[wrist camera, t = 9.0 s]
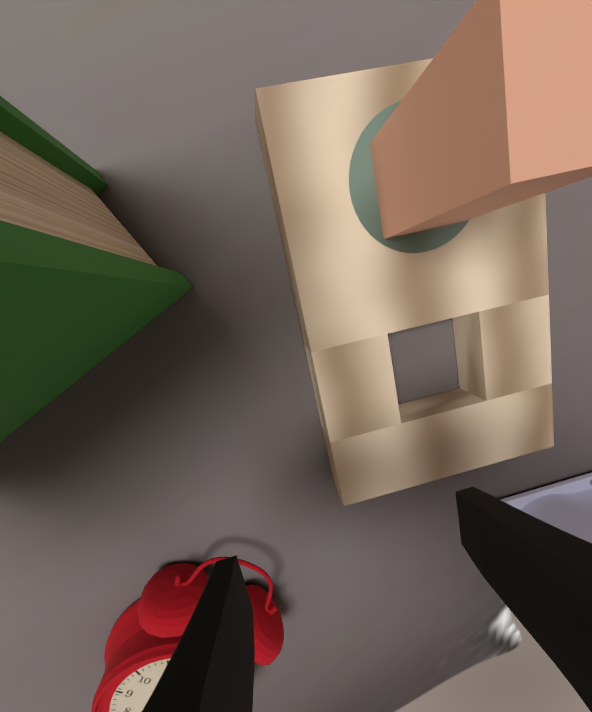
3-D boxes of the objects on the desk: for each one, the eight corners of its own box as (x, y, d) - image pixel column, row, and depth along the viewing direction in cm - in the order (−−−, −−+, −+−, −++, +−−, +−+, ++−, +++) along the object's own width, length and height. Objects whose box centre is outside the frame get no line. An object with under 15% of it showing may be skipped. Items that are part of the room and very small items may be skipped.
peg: (455, 126, 15) (670, -55, 7) (463, 221, 16) (662, 151, 8) (369, 143, 15) (497, -29, 7) (383, 239, 16) (510, 183, 8)
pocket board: (499, 76, 17) (541, 38, 15) (521, 429, 22) (555, 447, 19) (255, 119, 16) (255, 87, 14) (333, 481, 21) (344, 507, 18)
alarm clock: (44, 767, 18) (121, 639, 13) (103, 637, 24) (172, 515, 19) (207, 795, 20) (325, 693, 15) (225, 669, 26) (315, 567, 21)
